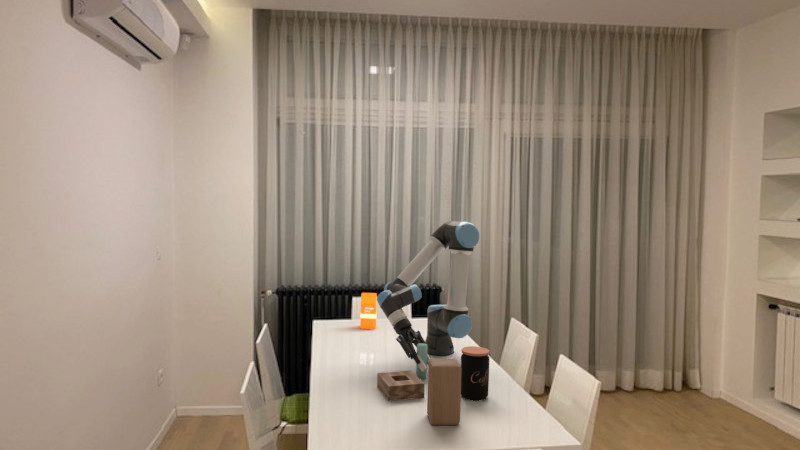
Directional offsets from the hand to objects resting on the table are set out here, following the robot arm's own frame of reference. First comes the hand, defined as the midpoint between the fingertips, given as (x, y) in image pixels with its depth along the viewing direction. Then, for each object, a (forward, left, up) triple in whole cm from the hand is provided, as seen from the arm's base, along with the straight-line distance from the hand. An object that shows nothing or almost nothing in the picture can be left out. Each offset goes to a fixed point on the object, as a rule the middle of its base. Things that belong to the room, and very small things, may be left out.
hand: (428, 368), depth 231 cm
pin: (+2, -3, -5) cm, 6 cm away
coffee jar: (-10, +23, -5) cm, 25 cm away
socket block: (+16, +11, -5) cm, 20 cm away
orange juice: (+1, -96, -5) cm, 96 cm away
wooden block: (+10, +41, -5) cm, 42 cm away
